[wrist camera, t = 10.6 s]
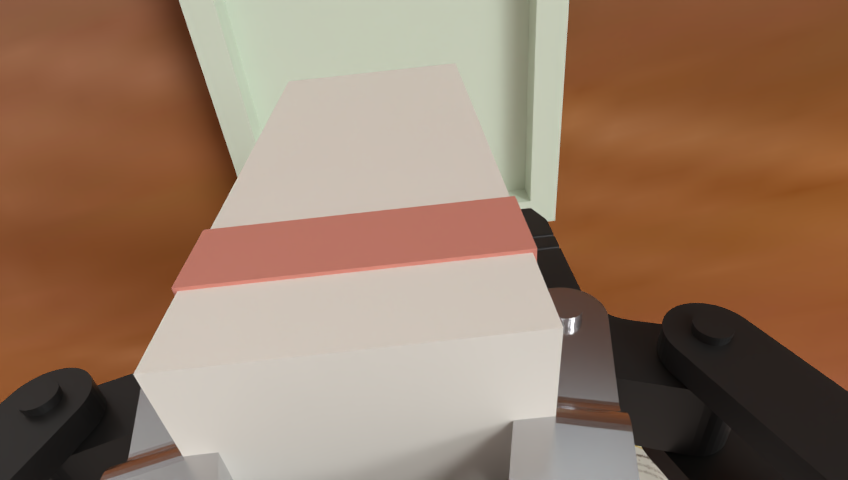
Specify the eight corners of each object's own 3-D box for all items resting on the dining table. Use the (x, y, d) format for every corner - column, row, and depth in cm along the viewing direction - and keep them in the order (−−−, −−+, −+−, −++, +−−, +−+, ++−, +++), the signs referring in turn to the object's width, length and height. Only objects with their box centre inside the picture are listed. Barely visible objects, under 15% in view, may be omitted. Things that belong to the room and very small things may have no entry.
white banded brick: (457, 60, 12) (568, 322, 5) (468, 264, 16) (542, 603, 8) (286, 79, 12) (125, 370, 5) (334, 279, 16) (285, 631, 8)
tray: (561, -144, 18) (578, -148, 16) (544, 199, 26) (554, 220, 24) (167, -101, 18) (145, -101, 16) (270, 228, 26) (262, 251, 24)
